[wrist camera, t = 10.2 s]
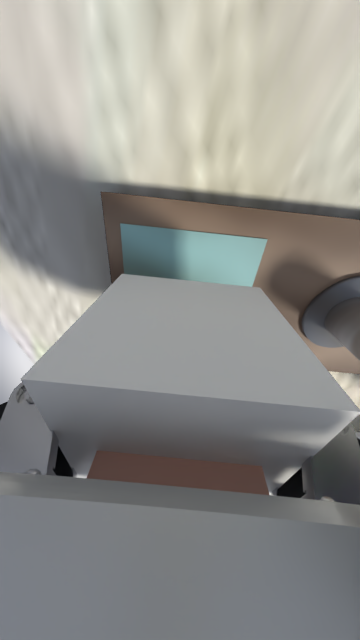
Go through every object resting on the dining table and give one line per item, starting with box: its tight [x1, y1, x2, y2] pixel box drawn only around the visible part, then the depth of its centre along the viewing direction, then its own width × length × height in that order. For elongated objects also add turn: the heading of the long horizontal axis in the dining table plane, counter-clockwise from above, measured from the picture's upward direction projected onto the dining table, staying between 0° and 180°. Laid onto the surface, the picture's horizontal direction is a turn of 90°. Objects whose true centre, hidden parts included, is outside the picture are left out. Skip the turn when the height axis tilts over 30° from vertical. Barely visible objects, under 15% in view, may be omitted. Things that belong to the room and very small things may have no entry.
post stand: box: [101, 192, 360, 374], centre depth 12 cm, size 12×23×8 cm, turn 85°
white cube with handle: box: [21, 274, 360, 495], centre depth 7 cm, size 6×6×7 cm
